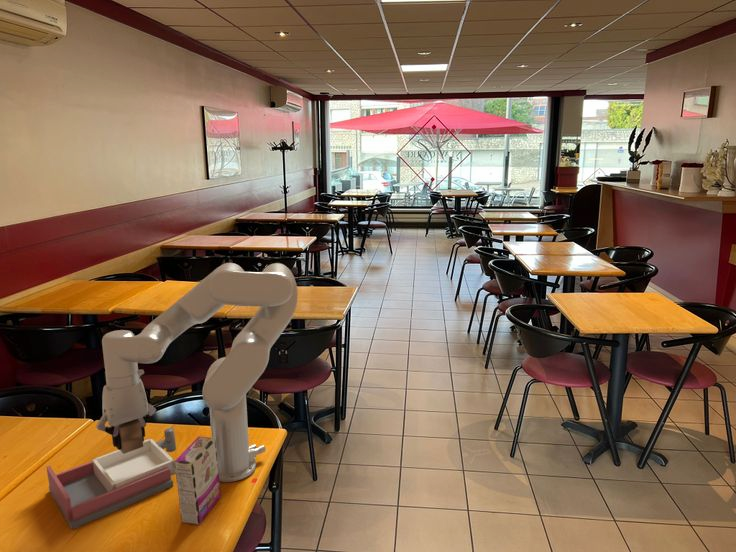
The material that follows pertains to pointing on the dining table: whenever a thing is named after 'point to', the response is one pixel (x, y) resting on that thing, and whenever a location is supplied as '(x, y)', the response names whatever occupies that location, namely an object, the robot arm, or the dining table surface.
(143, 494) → the bay
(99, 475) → the white tray
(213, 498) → the candy bar box
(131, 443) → the walnut block
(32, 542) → the dining table surface
